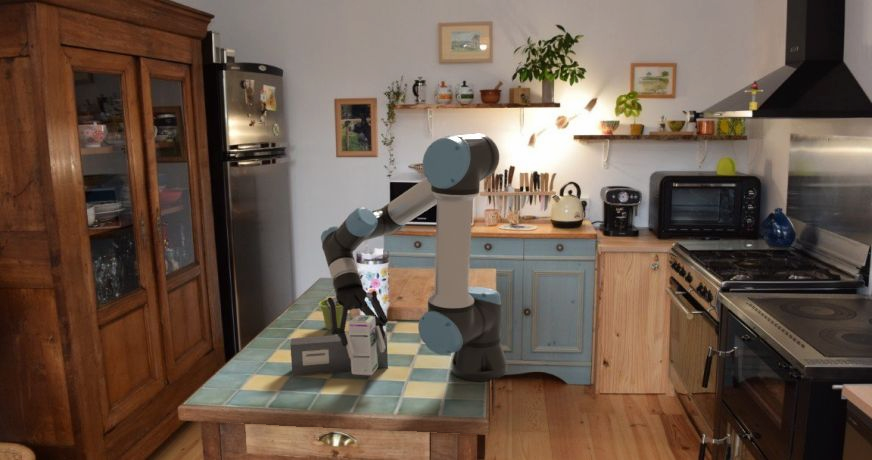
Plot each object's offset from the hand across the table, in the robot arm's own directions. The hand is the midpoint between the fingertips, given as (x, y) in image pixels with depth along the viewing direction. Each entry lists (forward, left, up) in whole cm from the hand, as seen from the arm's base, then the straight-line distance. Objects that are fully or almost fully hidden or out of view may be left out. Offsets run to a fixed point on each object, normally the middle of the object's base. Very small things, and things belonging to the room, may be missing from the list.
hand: (367, 352), depth 175 cm
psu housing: (+15, -5, -9) cm, 18 cm away
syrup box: (+3, -2, -6) cm, 7 cm away
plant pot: (+40, -29, -10) cm, 50 cm away
